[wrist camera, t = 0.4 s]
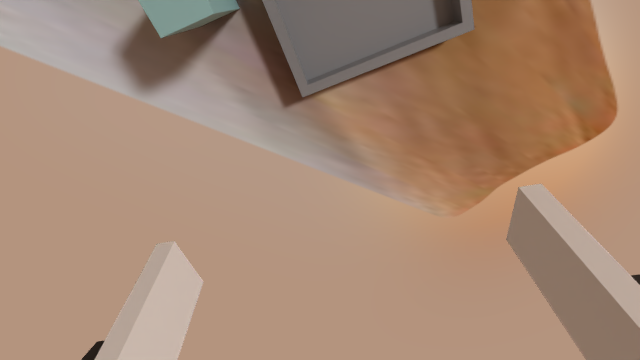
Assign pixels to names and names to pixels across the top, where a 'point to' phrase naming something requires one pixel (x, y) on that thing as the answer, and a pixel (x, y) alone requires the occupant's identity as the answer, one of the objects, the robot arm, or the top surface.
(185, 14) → the teal block
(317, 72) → the tray
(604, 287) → the robot arm
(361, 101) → the top surface
